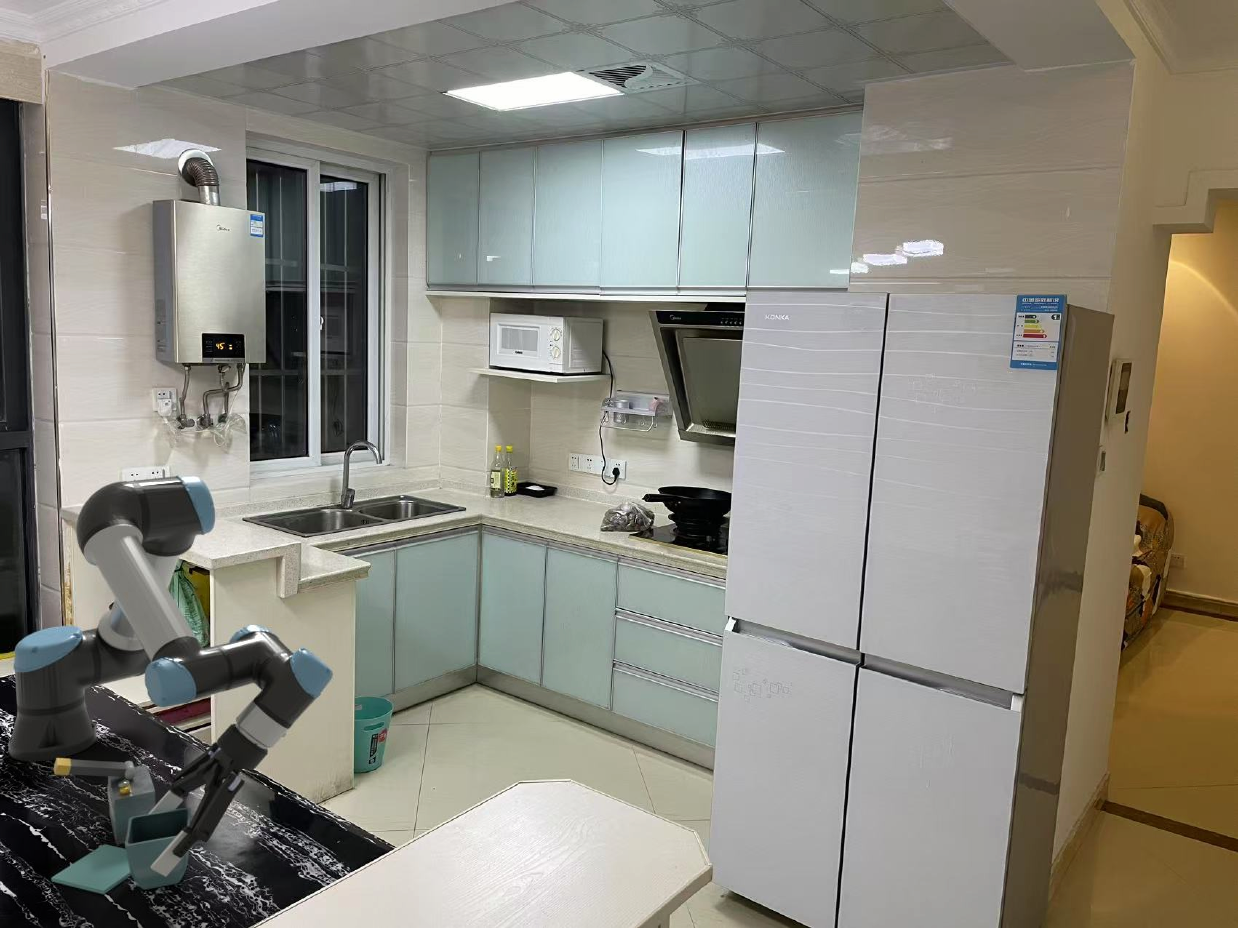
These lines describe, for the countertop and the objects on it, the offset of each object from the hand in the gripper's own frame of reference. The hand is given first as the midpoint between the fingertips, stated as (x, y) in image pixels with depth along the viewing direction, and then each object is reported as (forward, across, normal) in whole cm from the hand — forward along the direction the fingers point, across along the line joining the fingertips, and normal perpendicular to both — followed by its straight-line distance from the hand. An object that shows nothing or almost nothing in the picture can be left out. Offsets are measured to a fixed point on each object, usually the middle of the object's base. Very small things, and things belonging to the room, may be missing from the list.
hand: (151, 849), depth 142 cm
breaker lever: (-2, +22, +3) cm, 22 cm away
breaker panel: (+4, +20, -3) cm, 20 cm away
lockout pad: (+8, +7, 0) cm, 11 cm away
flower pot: (+3, 0, -5) cm, 6 cm away
